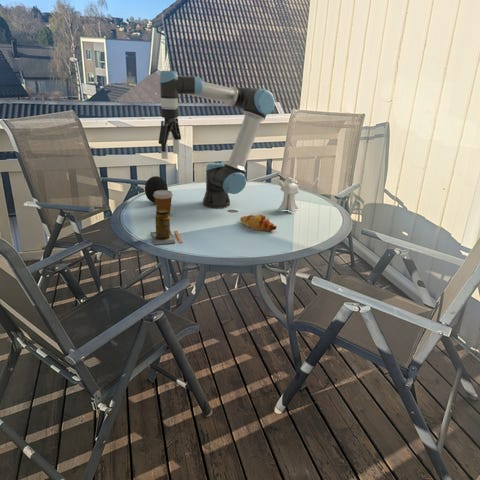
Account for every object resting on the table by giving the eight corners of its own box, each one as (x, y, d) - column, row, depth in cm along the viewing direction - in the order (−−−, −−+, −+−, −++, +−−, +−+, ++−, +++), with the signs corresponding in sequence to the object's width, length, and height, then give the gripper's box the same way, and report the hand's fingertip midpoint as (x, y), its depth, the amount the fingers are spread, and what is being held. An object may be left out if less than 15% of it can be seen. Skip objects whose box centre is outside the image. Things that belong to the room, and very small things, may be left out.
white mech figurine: (285, 215, 217) (287, 182, 210) (273, 208, 228) (275, 176, 221) (304, 213, 222) (307, 180, 215) (291, 206, 233) (294, 174, 226)
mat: (170, 231, 189) (170, 230, 189) (175, 243, 177) (175, 242, 176) (150, 233, 186) (150, 232, 186) (154, 245, 174) (154, 243, 174)
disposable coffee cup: (169, 219, 205) (168, 195, 200) (151, 217, 206) (150, 193, 202) (175, 213, 213) (175, 190, 209) (158, 211, 215) (157, 189, 211)
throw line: (177, 231, 190) (177, 230, 190) (182, 242, 177) (182, 242, 177) (174, 231, 189) (174, 230, 189) (179, 243, 177) (179, 242, 177)
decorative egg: (172, 203, 228) (172, 177, 223) (153, 207, 220) (152, 180, 214) (159, 198, 236) (158, 172, 231) (141, 202, 228) (139, 175, 222)
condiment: (168, 233, 186) (167, 207, 181) (174, 239, 179) (173, 213, 174) (152, 235, 183) (151, 209, 178) (157, 242, 176) (156, 215, 171)
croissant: (236, 230, 204) (232, 218, 199) (247, 216, 209) (243, 204, 204) (272, 240, 193) (268, 228, 187) (283, 225, 198) (279, 213, 192)
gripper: (172, 105, 195) (173, 150, 203) (149, 109, 172) (151, 160, 180) (187, 106, 193) (187, 152, 201) (166, 110, 171) (167, 161, 179)
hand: (170, 156), depth 191 cm, fingers open, 13 cm apart
